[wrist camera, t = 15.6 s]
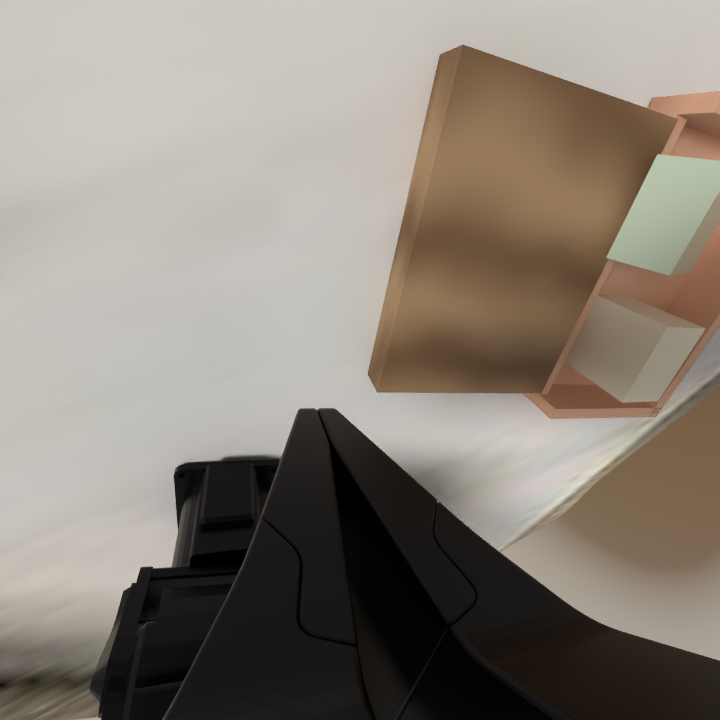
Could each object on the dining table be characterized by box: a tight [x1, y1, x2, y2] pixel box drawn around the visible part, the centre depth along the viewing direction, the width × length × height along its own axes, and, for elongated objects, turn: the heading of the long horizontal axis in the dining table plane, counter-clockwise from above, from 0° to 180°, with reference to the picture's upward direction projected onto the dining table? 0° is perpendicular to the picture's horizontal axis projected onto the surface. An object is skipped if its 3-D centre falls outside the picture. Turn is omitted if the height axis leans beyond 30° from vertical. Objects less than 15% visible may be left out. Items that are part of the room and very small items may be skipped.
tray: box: [523, 91, 720, 419], centre depth 23 cm, size 18×10×4 cm, turn 169°
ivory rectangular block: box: [564, 295, 706, 403], centre depth 23 cm, size 5×5×3 cm
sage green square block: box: [606, 154, 720, 276], centre depth 19 cm, size 5×5×3 cm
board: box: [368, 45, 678, 393], centre depth 20 cm, size 16×12×2 cm
